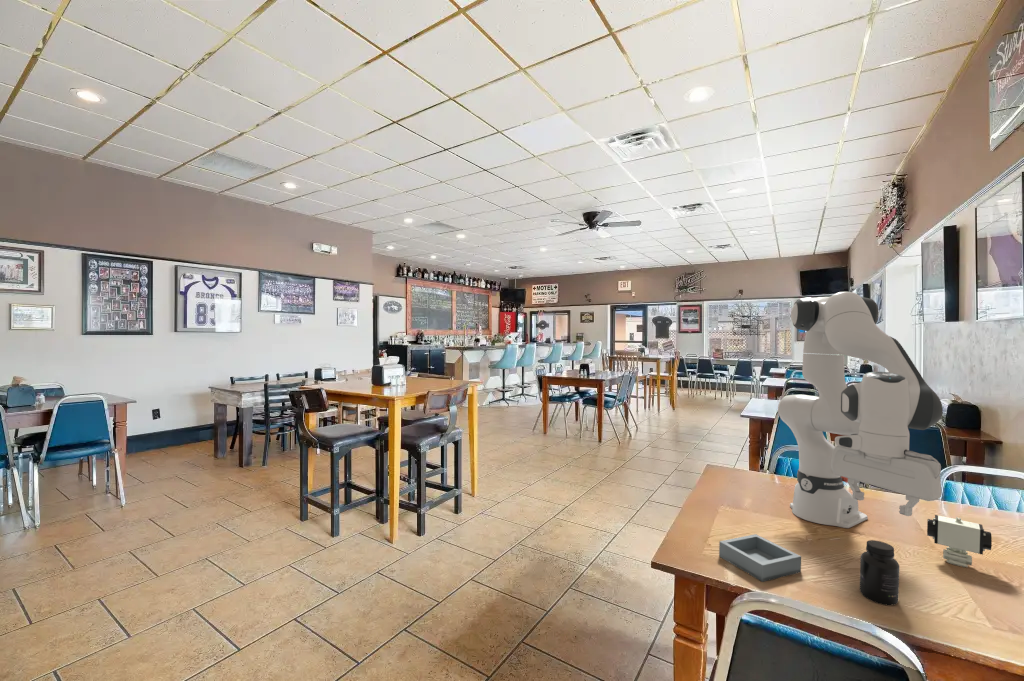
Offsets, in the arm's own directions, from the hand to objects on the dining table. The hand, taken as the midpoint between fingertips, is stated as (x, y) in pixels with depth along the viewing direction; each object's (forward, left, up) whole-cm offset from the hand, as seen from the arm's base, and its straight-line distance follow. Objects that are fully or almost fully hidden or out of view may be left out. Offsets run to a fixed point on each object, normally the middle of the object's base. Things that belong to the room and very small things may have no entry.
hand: (880, 506), depth 101 cm
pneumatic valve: (-37, -3, -21) cm, 43 cm away
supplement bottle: (0, 0, -21) cm, 21 cm away
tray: (+13, -20, -21) cm, 31 cm away
